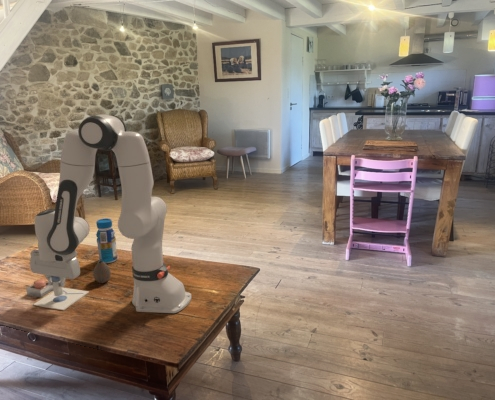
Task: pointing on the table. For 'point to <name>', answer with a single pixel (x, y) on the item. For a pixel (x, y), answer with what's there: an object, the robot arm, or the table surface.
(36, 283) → the button
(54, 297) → the drawing pad
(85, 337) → the table surface
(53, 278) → the dome-topped peg
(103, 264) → the vase
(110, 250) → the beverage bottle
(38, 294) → the button housing
